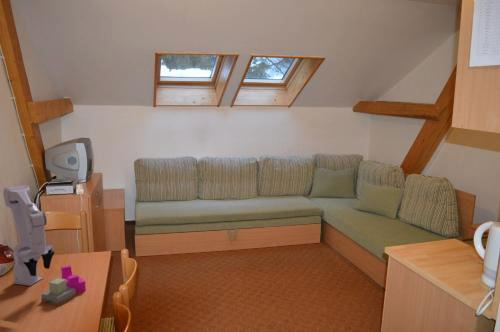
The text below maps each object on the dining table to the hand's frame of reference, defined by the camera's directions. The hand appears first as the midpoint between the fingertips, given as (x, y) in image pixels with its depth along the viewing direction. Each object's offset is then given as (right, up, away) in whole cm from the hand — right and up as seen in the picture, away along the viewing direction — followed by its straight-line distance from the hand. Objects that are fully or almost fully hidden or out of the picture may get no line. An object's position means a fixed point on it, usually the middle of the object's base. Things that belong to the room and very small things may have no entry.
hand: (40, 271), depth 169 cm
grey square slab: (+9, -11, -2) cm, 15 cm away
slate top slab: (+9, -9, -3) cm, 13 cm away
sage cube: (+9, -7, -3) cm, 12 cm away
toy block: (+10, -9, +9) cm, 16 cm away
